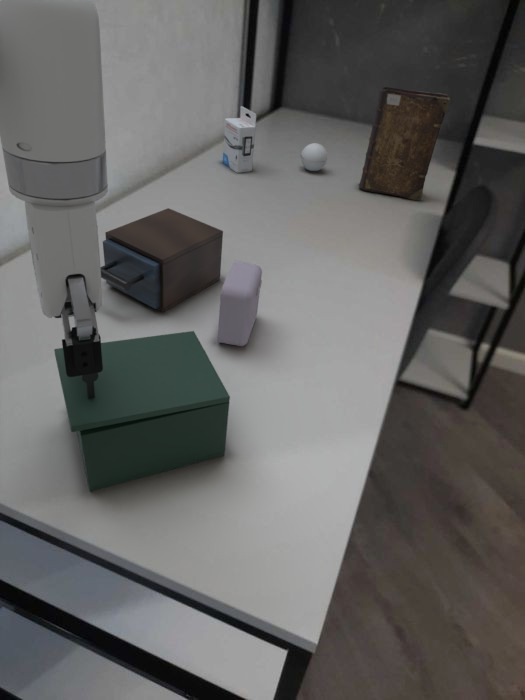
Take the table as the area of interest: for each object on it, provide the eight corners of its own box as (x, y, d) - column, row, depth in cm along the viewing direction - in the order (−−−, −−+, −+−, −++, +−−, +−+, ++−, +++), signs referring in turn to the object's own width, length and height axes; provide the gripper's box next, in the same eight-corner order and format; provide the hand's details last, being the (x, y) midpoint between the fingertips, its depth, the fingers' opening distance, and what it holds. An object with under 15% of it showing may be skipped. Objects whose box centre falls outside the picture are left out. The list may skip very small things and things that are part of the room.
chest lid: (71, 432, 50) (67, 397, 47) (54, 354, 59) (50, 320, 56) (229, 402, 57) (234, 369, 54) (193, 335, 65) (196, 304, 63)
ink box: (221, 162, 144) (224, 105, 135) (237, 161, 146) (241, 105, 138) (236, 173, 139) (241, 114, 130) (252, 171, 141) (258, 114, 132)
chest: (89, 491, 56) (80, 436, 51) (72, 412, 65) (63, 358, 60) (224, 455, 62) (229, 402, 57) (192, 387, 71) (193, 336, 66)
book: (357, 190, 138) (380, 87, 123) (359, 181, 144) (382, 82, 129) (420, 202, 136) (451, 99, 121) (420, 193, 141) (450, 93, 126)
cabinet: (163, 312, 84) (163, 259, 78) (109, 283, 89) (105, 232, 83) (220, 279, 94) (223, 231, 88) (168, 255, 99) (168, 208, 93)
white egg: (301, 164, 150) (305, 137, 146) (326, 169, 149) (331, 142, 145) (294, 174, 143) (298, 147, 138) (320, 179, 142) (325, 152, 137)
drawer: (136, 320, 80) (133, 276, 75) (86, 292, 85) (81, 249, 80) (209, 279, 92) (211, 238, 88) (162, 256, 97) (161, 217, 92)
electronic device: (247, 351, 78) (253, 295, 72) (217, 345, 79) (220, 289, 73) (258, 315, 86) (265, 262, 80) (231, 310, 87) (235, 257, 81)
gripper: (0, 136, 46) (27, 300, 56) (14, 218, 34) (46, 408, 44) (88, 137, 49) (99, 293, 59) (130, 212, 37) (134, 391, 47)
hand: (76, 342), depth 52 cm, fingers open, 9 cm apart
